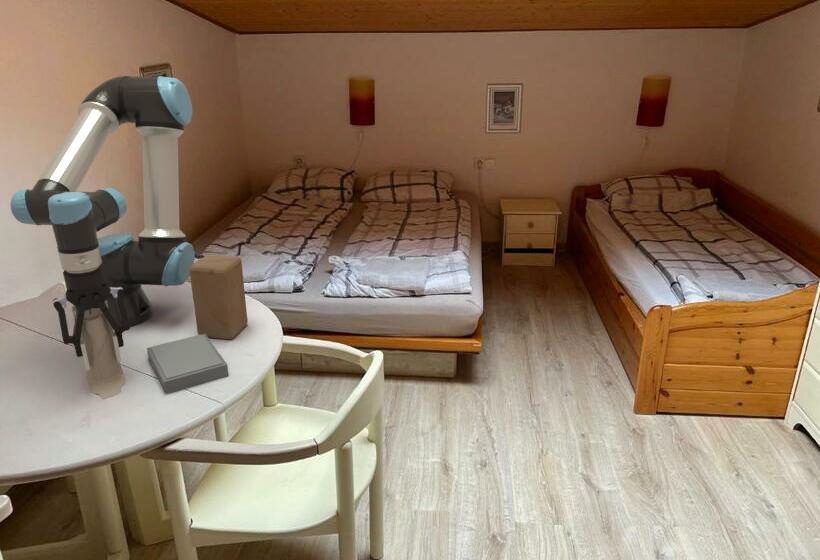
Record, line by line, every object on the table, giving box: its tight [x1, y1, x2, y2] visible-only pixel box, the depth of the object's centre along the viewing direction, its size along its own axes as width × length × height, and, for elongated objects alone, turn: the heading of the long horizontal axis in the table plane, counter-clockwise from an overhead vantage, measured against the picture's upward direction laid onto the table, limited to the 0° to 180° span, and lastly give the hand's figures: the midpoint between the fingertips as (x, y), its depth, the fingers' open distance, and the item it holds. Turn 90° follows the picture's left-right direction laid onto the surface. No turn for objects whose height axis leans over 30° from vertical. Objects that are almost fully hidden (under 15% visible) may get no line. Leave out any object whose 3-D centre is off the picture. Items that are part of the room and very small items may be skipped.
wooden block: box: [189, 254, 249, 340], centre depth 153 cm, size 10×10×20 cm
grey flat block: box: [146, 334, 229, 394], centre depth 139 cm, size 18×14×3 cm
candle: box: [71, 300, 126, 399], centre depth 129 cm, size 7×14×20 cm, turn 32°
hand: (103, 363), depth 131 cm, fingers closed on candle, 6 cm apart
